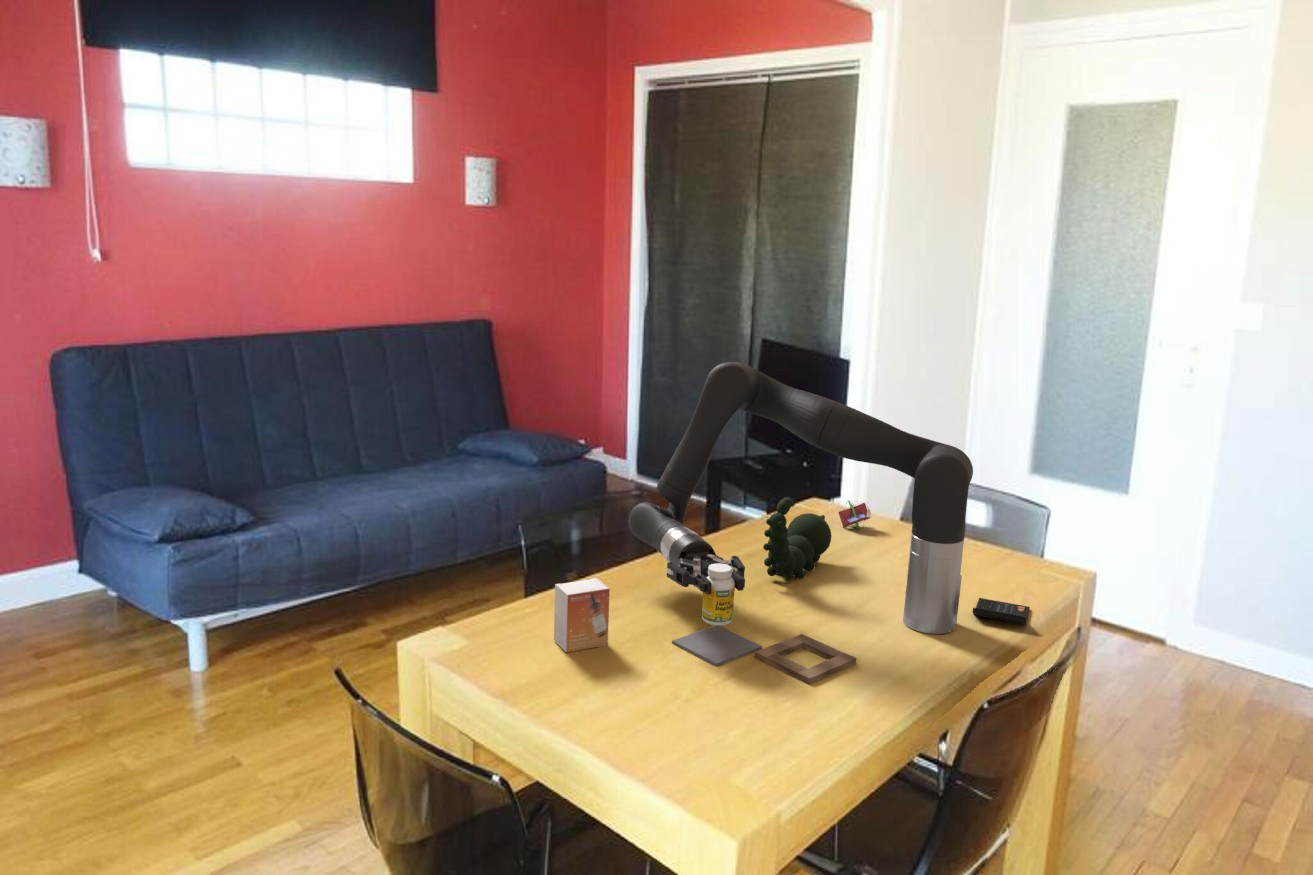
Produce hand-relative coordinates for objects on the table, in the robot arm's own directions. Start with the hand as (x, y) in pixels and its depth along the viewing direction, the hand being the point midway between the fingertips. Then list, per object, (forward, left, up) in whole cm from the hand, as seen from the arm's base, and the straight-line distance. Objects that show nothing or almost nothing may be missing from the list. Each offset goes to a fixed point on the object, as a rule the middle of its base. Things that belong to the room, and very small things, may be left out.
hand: (725, 587), depth 166 cm
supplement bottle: (-1, -2, -7) cm, 8 cm away
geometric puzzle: (-73, -29, -12) cm, 79 cm away
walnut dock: (-9, +11, -12) cm, 18 cm away
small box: (+17, -17, -12) cm, 27 cm away
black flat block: (-54, +21, -12) cm, 59 cm away
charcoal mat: (-1, -2, -12) cm, 12 cm away
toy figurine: (-40, -18, -12) cm, 46 cm away
